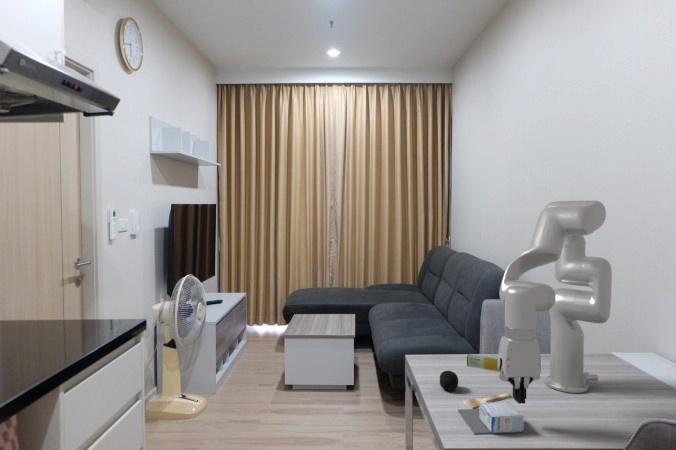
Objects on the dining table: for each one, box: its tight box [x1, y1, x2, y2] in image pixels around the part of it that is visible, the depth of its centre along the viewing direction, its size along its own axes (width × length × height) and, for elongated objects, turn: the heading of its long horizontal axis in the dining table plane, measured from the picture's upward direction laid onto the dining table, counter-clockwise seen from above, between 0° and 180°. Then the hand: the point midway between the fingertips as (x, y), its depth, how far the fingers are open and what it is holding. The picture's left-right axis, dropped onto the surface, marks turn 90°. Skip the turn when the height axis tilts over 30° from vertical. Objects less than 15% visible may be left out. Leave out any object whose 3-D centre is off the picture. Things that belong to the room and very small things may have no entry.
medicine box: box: [478, 401, 525, 434], centre depth 116 cm, size 8×4×9 cm
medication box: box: [466, 353, 500, 373], centre depth 158 cm, size 12×3×4 cm, turn 60°
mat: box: [457, 408, 521, 435], centre depth 119 cm, size 12×13×1 cm
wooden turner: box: [462, 392, 512, 409], centre depth 131 cm, size 16×4×1 cm, turn 113°
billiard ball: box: [438, 370, 459, 392], centre depth 139 cm, size 6×6×6 cm
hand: (519, 401), depth 116 cm, fingers closed
